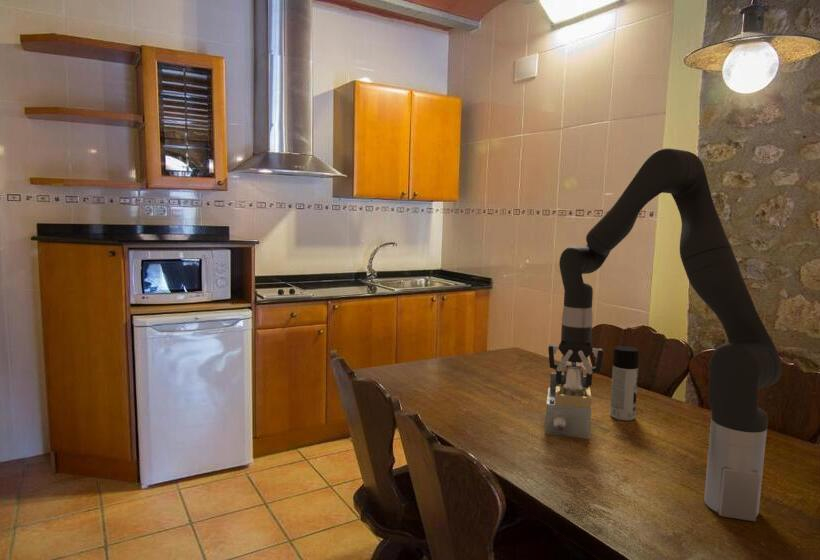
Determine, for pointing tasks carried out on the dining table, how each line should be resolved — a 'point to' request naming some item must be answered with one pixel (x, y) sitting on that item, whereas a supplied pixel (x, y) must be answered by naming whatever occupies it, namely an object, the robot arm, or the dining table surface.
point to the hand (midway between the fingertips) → (573, 385)
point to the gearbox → (568, 411)
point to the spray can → (624, 383)
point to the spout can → (573, 379)
